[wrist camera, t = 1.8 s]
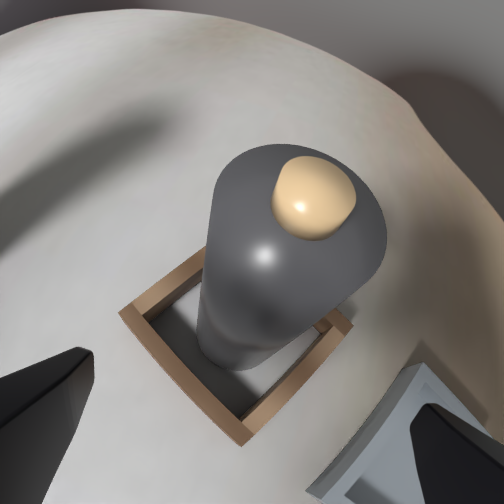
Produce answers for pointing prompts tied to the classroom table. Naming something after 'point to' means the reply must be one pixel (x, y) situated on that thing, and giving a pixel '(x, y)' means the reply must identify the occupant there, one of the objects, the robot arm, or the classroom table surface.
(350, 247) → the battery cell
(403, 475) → the tray
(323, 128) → the classroom table surface
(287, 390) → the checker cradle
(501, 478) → the robot arm
